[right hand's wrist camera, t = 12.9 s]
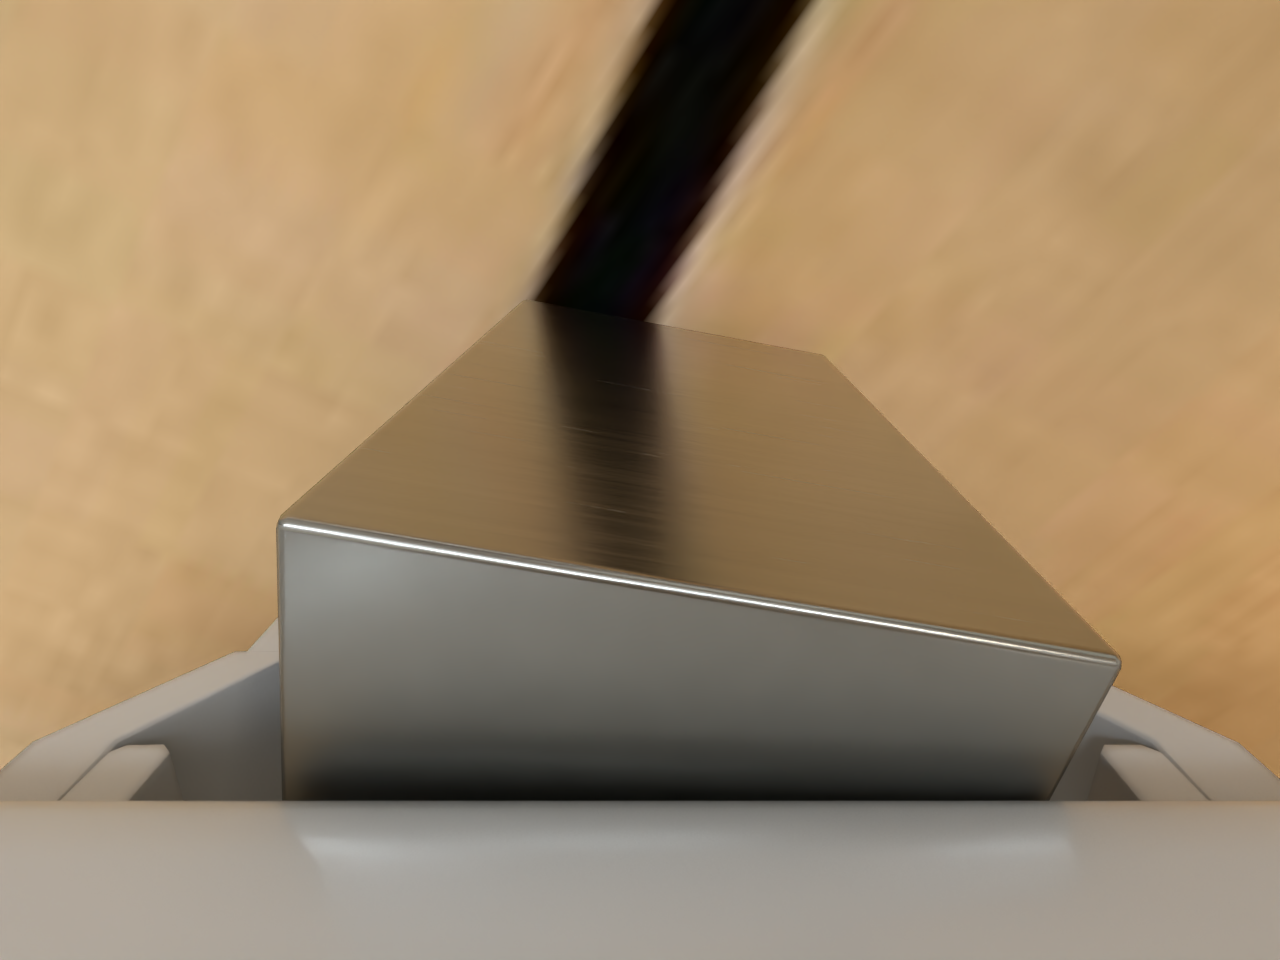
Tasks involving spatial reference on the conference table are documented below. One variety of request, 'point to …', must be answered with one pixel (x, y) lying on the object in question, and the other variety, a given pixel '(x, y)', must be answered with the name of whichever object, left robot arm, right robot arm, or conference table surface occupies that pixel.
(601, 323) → the bar
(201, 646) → the conference table surface
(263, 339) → the conference table surface
